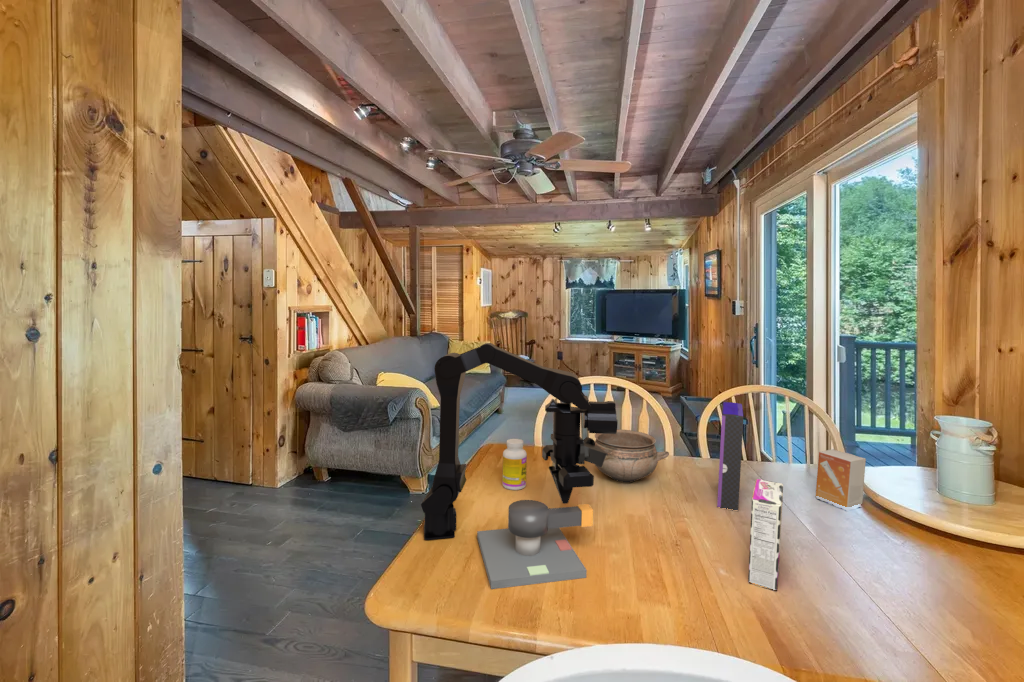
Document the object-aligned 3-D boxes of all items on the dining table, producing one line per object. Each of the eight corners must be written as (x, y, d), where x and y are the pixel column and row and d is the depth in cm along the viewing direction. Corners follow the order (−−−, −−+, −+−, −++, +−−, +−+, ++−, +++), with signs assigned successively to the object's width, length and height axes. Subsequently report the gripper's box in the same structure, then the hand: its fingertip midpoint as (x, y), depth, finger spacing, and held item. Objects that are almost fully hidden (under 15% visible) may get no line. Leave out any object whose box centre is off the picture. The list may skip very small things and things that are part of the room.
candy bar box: (750, 555, 93) (755, 477, 91) (779, 563, 90) (784, 483, 89) (745, 583, 83) (751, 497, 82) (777, 593, 80) (783, 504, 79)
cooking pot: (663, 470, 140) (665, 431, 139) (672, 495, 121) (674, 451, 120) (582, 463, 145) (583, 426, 144) (578, 486, 126) (579, 443, 125)
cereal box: (718, 483, 130) (723, 401, 128) (737, 486, 128) (741, 403, 126) (717, 507, 114) (722, 414, 113) (738, 511, 112) (743, 416, 110)
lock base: (491, 589, 80) (491, 558, 80) (477, 537, 98) (477, 512, 97) (586, 577, 84) (587, 548, 84) (556, 530, 102) (557, 505, 101)
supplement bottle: (523, 492, 122) (524, 445, 121) (500, 489, 124) (500, 443, 123) (527, 482, 129) (528, 438, 128) (505, 480, 130) (505, 436, 129)
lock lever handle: (512, 540, 86) (513, 519, 85) (504, 520, 94) (504, 501, 93) (597, 532, 89) (598, 511, 89) (583, 513, 97) (583, 495, 97)
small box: (814, 499, 120) (818, 451, 119) (830, 495, 123) (833, 448, 122) (847, 511, 113) (851, 461, 112) (862, 507, 116) (866, 458, 114)
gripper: (620, 444, 88) (617, 520, 90) (588, 419, 107) (586, 484, 108) (565, 446, 86) (563, 524, 88) (542, 421, 105) (541, 486, 106)
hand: (564, 502), depth 97 cm, fingers closed
